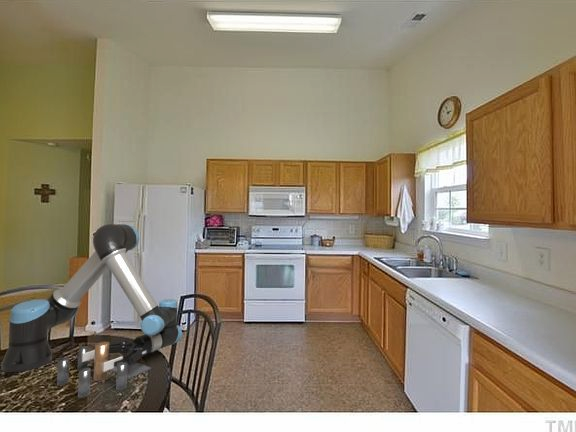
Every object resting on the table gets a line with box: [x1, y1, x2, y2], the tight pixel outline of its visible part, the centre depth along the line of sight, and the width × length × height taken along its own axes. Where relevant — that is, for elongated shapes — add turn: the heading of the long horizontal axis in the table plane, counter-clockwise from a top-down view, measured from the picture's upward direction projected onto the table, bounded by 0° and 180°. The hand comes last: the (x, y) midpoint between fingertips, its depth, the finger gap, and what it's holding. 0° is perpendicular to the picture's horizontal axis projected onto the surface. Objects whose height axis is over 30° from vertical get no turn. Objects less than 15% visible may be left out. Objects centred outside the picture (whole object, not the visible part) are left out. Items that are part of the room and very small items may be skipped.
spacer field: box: [56, 345, 128, 399], centre depth 107 cm, size 28×12×8 cm, turn 59°
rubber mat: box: [109, 361, 152, 380], centre depth 119 cm, size 17×9×1 cm, turn 59°
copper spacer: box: [93, 341, 110, 382], centre depth 111 cm, size 4×4×12 cm
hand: (92, 362), depth 108 cm, fingers open, 13 cm apart
